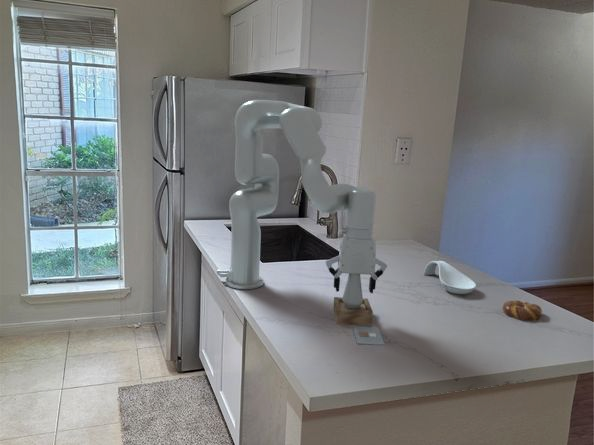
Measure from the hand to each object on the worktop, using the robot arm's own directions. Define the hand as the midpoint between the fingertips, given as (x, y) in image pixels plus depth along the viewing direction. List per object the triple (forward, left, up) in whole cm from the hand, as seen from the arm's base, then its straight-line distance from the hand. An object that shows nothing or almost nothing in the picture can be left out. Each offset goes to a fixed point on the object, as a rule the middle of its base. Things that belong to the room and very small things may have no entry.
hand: (354, 290), depth 148 cm
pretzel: (+54, +9, -9) cm, 55 cm away
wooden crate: (0, 0, -8) cm, 8 cm away
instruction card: (+3, -12, -8) cm, 15 cm away
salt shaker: (0, 0, -5) cm, 5 cm away
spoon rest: (+37, +32, -9) cm, 50 cm away
